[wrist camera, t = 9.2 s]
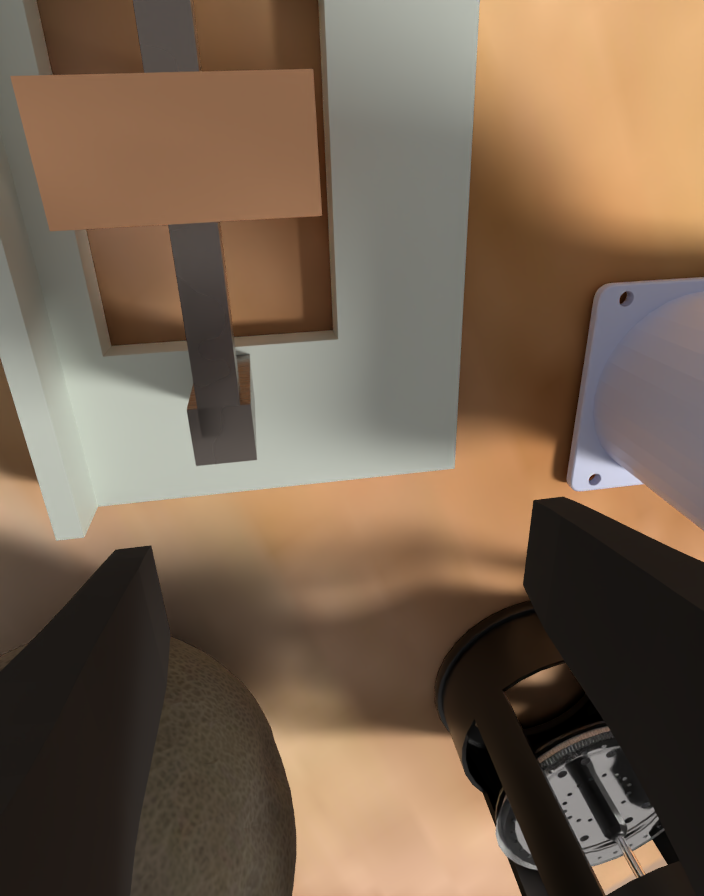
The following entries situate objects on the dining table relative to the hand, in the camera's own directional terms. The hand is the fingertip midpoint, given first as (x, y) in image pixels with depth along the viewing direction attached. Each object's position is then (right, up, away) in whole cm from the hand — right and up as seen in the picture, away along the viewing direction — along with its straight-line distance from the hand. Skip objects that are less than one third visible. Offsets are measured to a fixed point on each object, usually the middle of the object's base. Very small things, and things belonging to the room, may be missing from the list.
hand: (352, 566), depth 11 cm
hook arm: (-4, +9, +6) cm, 12 cm away
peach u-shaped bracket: (-4, +10, +4) cm, 11 cm away
